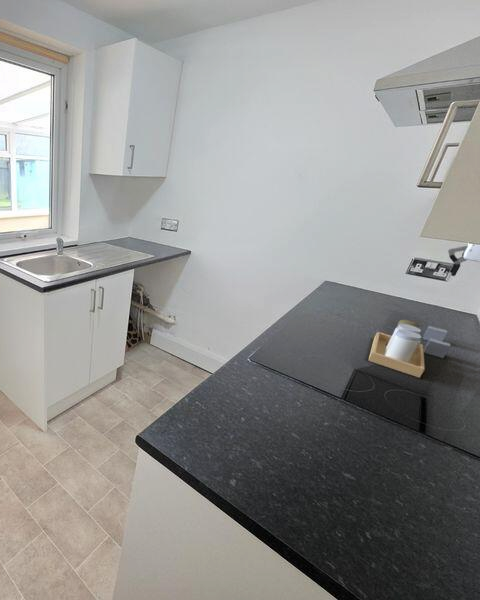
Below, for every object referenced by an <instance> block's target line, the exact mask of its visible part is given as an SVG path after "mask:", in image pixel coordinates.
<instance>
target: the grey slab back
mask: <svg viewBox="0 0 480 600" xmlns="http://www.w3.org/2000/svg"><path fill="white" fill-rule="evenodd" d="M447 334H448V330H447V329H443V328H439V327H435V326H431V325H428V326H427V327H426V330H425V331H424V333H423V335H422V340H425V341H427V342H428V341H429V339H430V338H431V339H435V340H438V341H442V342H444V340H445V338H446V336H447Z"/></svg>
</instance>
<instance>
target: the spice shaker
mask: <svg viewBox="0 0 480 600" xmlns="http://www.w3.org/2000/svg"><path fill="white" fill-rule="evenodd" d="M397 325H398V324H397ZM397 325H396V327H395V328H394V331H393V332H392V335H391V336H392V337H391V339H390V341H389V343H388V344H387V346H386V348H385V350H384V353H386V351H387V349H388V347H389V345H390V343H391V341H392V339H393V337H394V335H395V333H397V331H398V330H408V331H411V332H414V333H417V334H419V335H420V336H421V332H422V329H421V328H419V327H418V328H417V327H414V326H411V325H407V324H399V325H398V326H397Z"/></svg>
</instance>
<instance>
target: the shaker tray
mask: <svg viewBox="0 0 480 600" xmlns="http://www.w3.org/2000/svg"><path fill="white" fill-rule="evenodd" d="M391 337H392V335H390V334H387V333H383V332H379V331H376V334H375V336H374V338H373V341H372V345H371V347H370V352H369V356H368V360H367V361H368V362H371V363H373V364H377V365H379V366H383V367H386V368H389V369H391V370H395V371H398V372H400V373H404V374H407V375H410V376H413V377H416V378H421V377H422V375H423V373H424V372H425V370H426V369H425V353H424V351H423V349H424V344H422V343H419V345H418V347H417V349H416V350H415V352H414V354H413V356H412V358H411V359H410V361H409V363H406V362H403V361H400V360H397V359H393V358H390V357H387V356H384V355H385V353H384V350H385V348H386V343H387V342H388V341H389V339H390V338H391Z"/></svg>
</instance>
